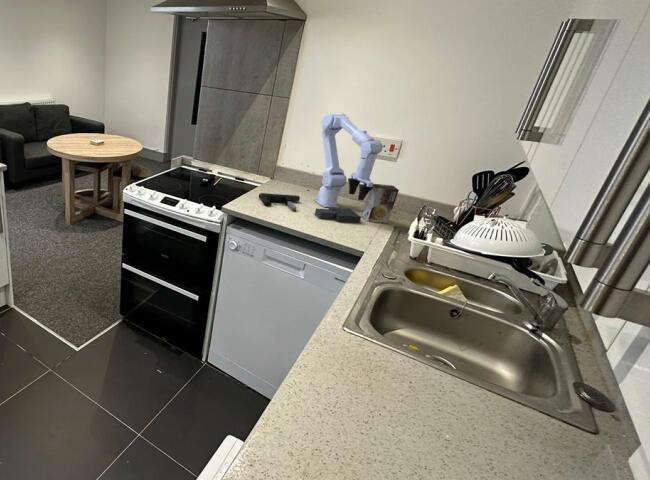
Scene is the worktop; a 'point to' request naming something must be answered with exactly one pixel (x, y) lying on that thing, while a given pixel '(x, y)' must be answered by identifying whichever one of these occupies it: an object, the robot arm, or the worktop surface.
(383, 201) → the coffee box
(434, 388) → the worktop surface
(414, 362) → the worktop surface
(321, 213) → the pad
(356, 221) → the notch pad
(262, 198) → the door handle
